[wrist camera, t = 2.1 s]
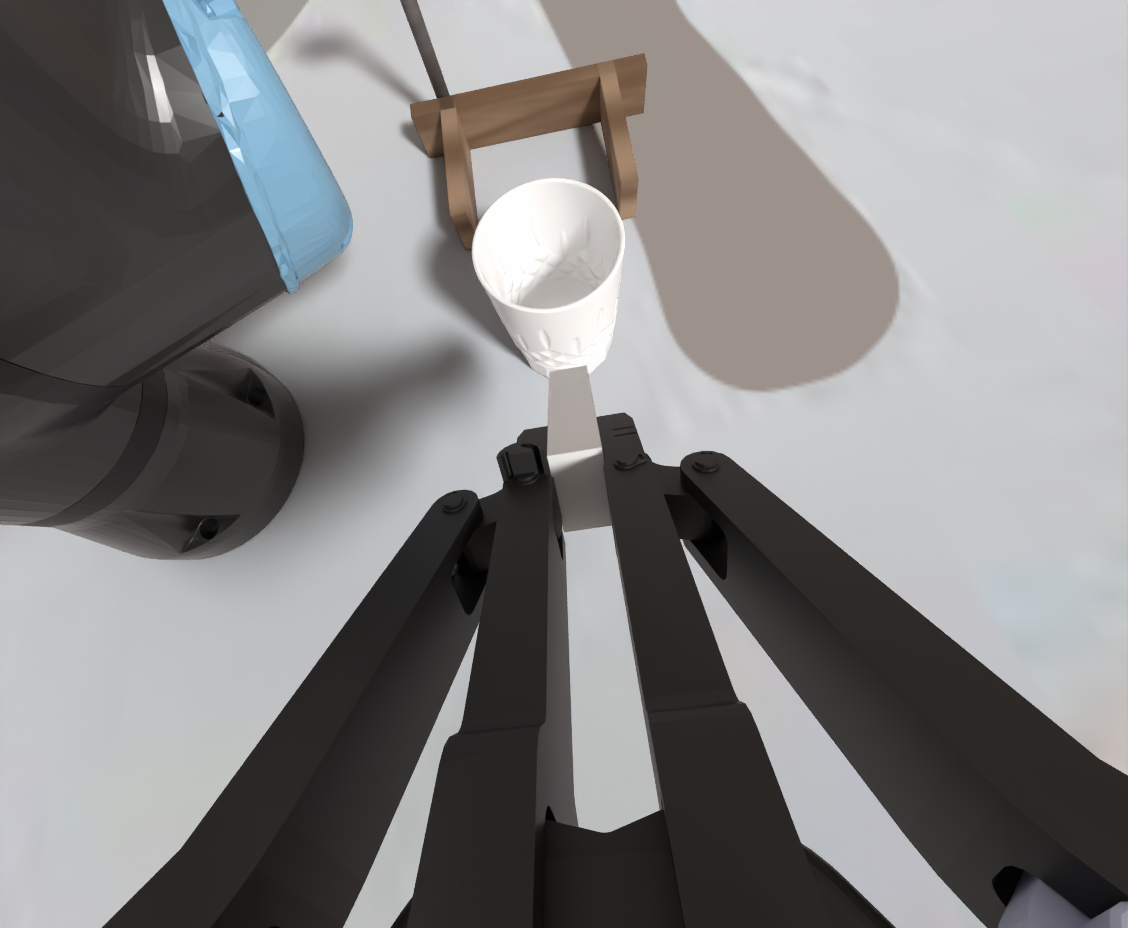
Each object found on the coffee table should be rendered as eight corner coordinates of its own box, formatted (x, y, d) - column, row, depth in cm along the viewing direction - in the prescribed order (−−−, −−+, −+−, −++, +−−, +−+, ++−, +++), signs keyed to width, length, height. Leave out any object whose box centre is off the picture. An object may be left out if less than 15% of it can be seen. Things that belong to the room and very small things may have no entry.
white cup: (505, 384, 32) (459, 307, 22) (521, 287, 33) (484, 175, 23) (614, 393, 31) (616, 317, 21) (625, 293, 32) (632, 178, 22)
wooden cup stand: (665, 211, 33) (715, -95, 18) (414, 259, 35) (254, 16, 19) (638, 90, 36) (661, -270, 20) (406, 139, 37) (260, -162, 22)
